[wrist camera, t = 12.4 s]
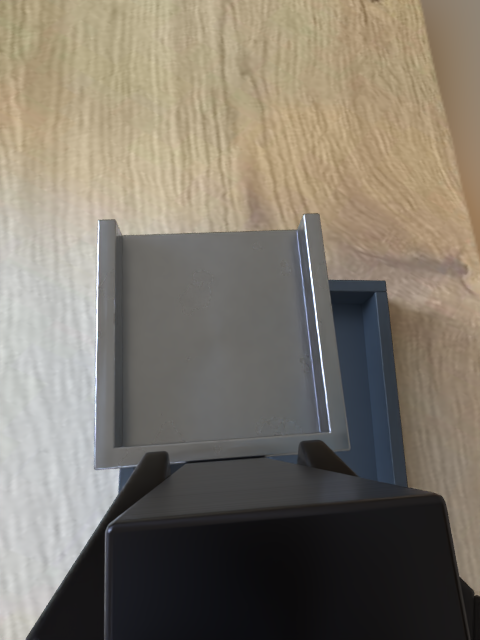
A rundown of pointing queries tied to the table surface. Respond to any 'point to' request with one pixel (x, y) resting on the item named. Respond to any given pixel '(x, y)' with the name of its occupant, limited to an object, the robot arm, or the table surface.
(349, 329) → the tray
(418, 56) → the table surface
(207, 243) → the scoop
